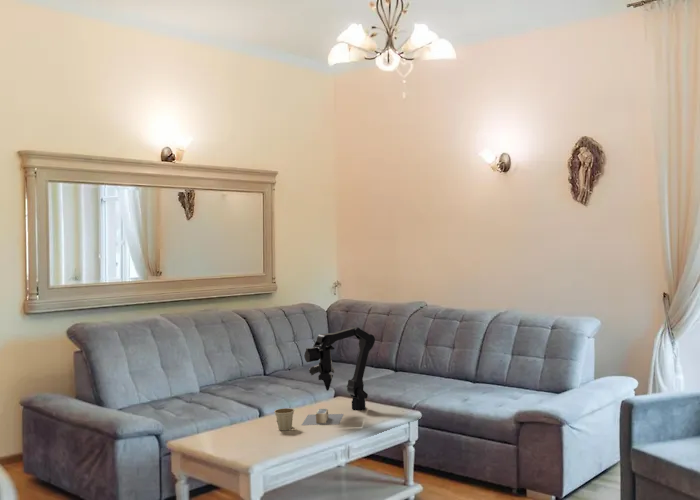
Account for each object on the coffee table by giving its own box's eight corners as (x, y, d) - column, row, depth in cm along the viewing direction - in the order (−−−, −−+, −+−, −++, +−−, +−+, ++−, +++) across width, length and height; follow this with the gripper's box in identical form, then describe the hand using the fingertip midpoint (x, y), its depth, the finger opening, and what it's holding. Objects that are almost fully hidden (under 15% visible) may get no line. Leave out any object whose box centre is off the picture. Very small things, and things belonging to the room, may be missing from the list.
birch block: (328, 408, 341) (325, 413, 331) (328, 417, 341) (325, 423, 331) (318, 408, 341) (315, 413, 331) (319, 418, 341) (316, 423, 332)
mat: (343, 415, 348) (343, 413, 348) (339, 425, 328) (339, 424, 328) (308, 415, 349) (308, 414, 349) (301, 426, 329) (301, 425, 329)
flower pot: (294, 431, 321) (293, 412, 321) (273, 432, 322) (273, 413, 322) (296, 425, 331) (295, 407, 331) (276, 426, 331) (275, 408, 331)
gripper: (311, 356, 357) (313, 387, 358) (307, 363, 339) (309, 395, 339) (333, 355, 356) (335, 386, 357) (329, 362, 338) (332, 394, 338)
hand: (327, 390), depth 348 cm, fingers closed
